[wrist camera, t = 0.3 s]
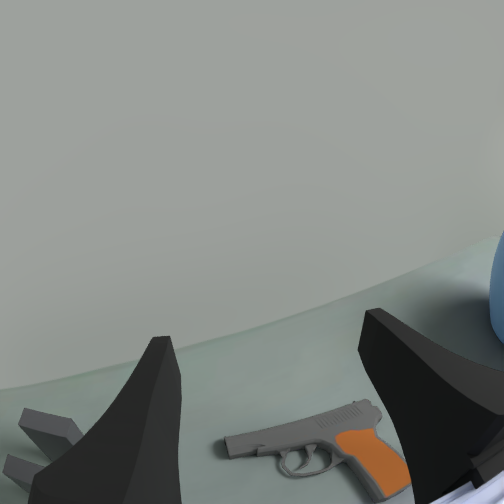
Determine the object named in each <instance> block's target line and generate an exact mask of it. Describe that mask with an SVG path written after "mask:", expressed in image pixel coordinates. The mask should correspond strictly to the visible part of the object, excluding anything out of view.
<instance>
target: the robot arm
mask: <svg viewBox="0 0 504 504" xmlns="http://www.w3.org/2000/svg"><path fill="white" fill-rule="evenodd" d="M358 352H359V355H360V358H361V360H362V363H363V366H364V368H365V371H366V373H367V375H368V376H369V378H370V380H371V382H372V384H373V386H374V388H375V389H376V391H377V393H378V395H379V397H380V398H381V400H382V402H383V404H384V406H385V408H386V410H387V411H388V413H389V415H390V418H391V420H392V422H393V424H394V427H395V430H396V432H397V435H398V438H399V440H400V443H401V446H402V450H403V453H404V456H405V459H406V463H407V467H408V470H409V474H410V478H411V483H412V488H413V493H414V499H415V504H504V372H502V371H498V370H495V369H491V368H488V367H485V366H483V365H480V364H477V363H474V362H472V361H470V360H467V359H465V358H463V357H461V356H459V355H457V354H454V353H452V352H450V351H448V350H447V349H445V348H443V347H441V346H439V345H438V344H436V343H434V342H432V341H431V340H429V339H428V338H426V337H424V336H423V335H421V334H420V333H418V332H416V331H415V330H413V329H412V328H410V327H409V326H407V325H406V324H404V323H403V322H401V321H400V320H398V319H397V318H395V317H394V316H392V315H391V314H389V313H387V312H386V311H384V310H383V309H381V308H376V309H371V310H366V312H365V317H364V322H363V327H362V332H361V337H360V341H359V346H358ZM181 401H182V395H181V374H180V370H179V367H178V363H177V360H176V356H175V353H174V349H173V345H172V342H171V338H170V336H161V337H153V338H152V339H151V341H150V343H149V344H148V346H147V348H146V350H145V352H144V354H143V356H142V357H141V359H140V361H139V363H138V364H137V366H136V368H135V369H134V371H133V373H132V374H131V376H130V378H129V379H128V381H127V382H126V384H125V385H124V387H123V388H122V390H121V391H120V393H119V394H118V396H117V397H116V398H115V400H114V401H113V403H112V404H111V405H110V407H109V408H108V409H107V410H106V412H105V413H104V414H103V415H102V417H101V418H100V419H99V420H98V421H97V422H96V423H95V424H94V426H93V427H92V428H91V429H90V430H89V431H88V432H87V433H86V434H85V435H84V436H83V437H82V438H81V439H80V440H79V441H78V442H77V443H76V444H75V445H73V446H72V447H71V448H70V449H69V450H68V451H67V452H65V453H64V454H63V455H62V456H61V457H59V458H58V459H57V460H56V461H54V462H53V463H51V464H50V465H48V466H47V467H45V468H44V469H43V470H41V471H40V472H38V473H36V474H35V475H34V478H33V481H32V484H31V489H30V495H29V500H28V504H182V503H181V493H180V483H179V469H178V443H179V428H180V415H181Z"/></svg>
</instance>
